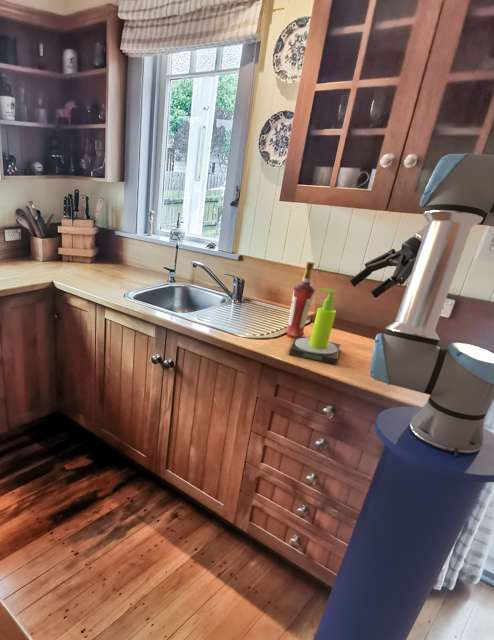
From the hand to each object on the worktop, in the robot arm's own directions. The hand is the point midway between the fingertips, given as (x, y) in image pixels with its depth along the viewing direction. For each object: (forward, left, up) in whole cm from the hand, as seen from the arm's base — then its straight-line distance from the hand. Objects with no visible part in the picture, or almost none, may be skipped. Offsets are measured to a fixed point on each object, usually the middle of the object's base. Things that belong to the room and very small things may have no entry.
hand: (361, 289), depth 154 cm
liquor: (+8, +18, -23) cm, 31 cm away
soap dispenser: (-5, +9, -21) cm, 23 cm away
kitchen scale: (-5, +9, -23) cm, 26 cm away
